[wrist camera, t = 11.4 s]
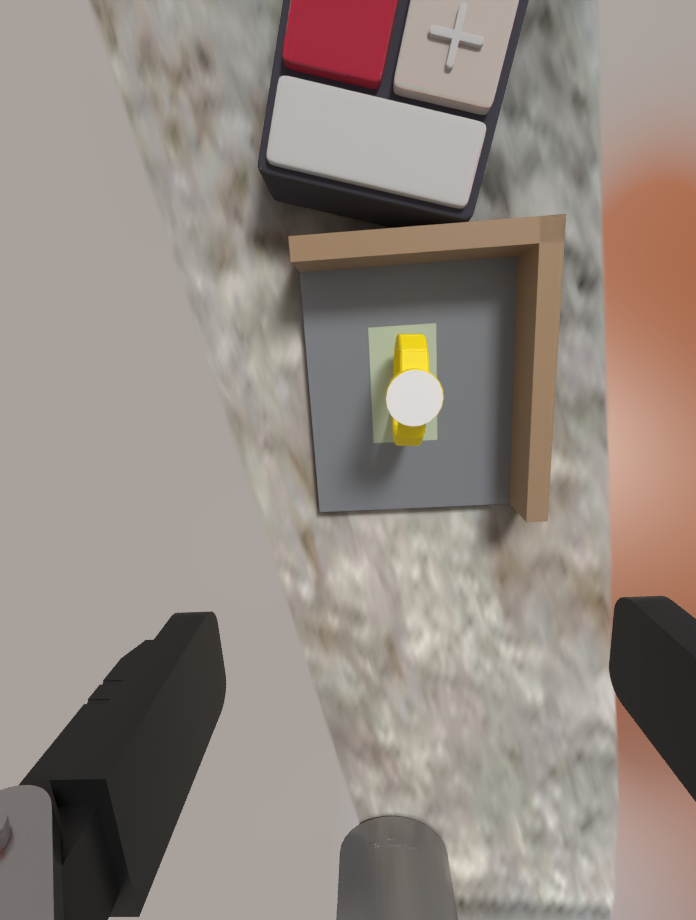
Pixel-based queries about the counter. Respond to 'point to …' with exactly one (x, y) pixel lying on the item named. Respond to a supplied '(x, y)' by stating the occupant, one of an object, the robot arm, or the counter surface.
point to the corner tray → (434, 360)
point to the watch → (412, 390)
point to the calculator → (387, 106)
